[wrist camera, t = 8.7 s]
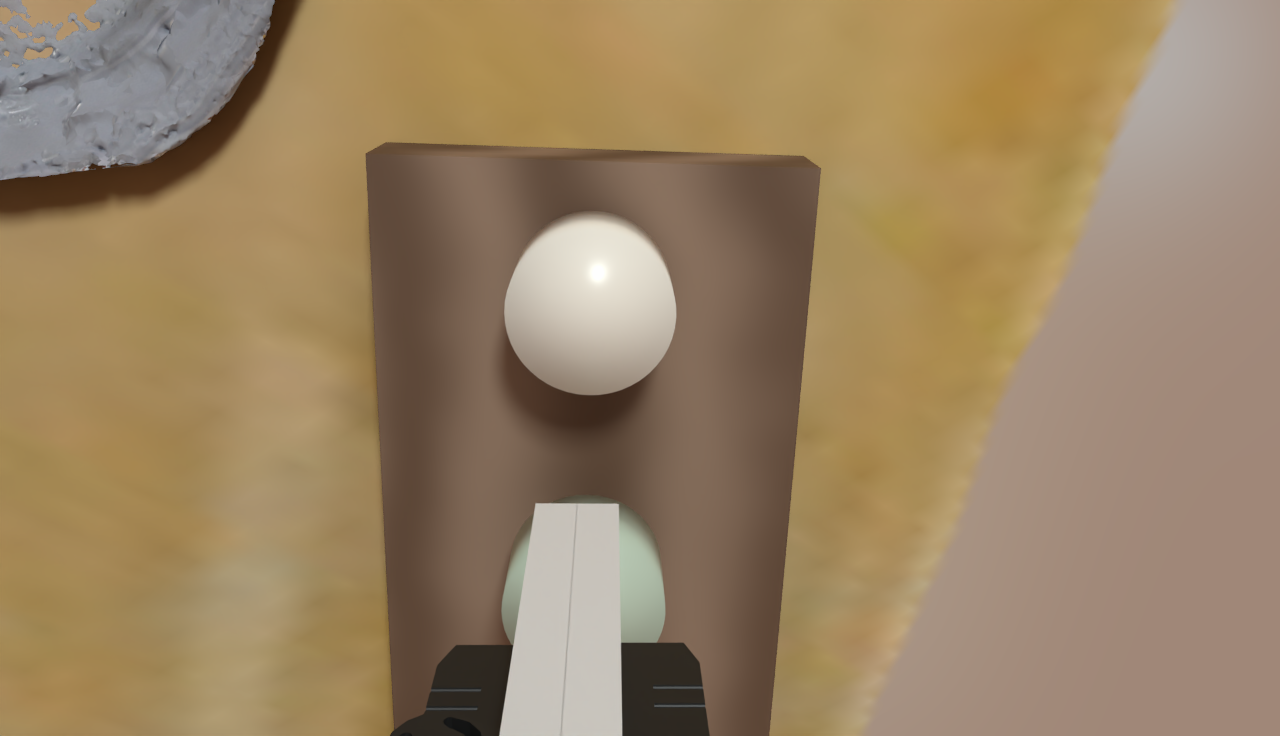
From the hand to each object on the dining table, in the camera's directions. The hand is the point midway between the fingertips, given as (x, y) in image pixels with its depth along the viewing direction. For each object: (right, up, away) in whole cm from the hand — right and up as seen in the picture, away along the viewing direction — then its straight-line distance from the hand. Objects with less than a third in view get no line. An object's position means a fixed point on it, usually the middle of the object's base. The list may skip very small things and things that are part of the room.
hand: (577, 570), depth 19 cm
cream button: (0, +6, +14) cm, 15 cm away
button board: (-1, -1, +20) cm, 20 cm away
